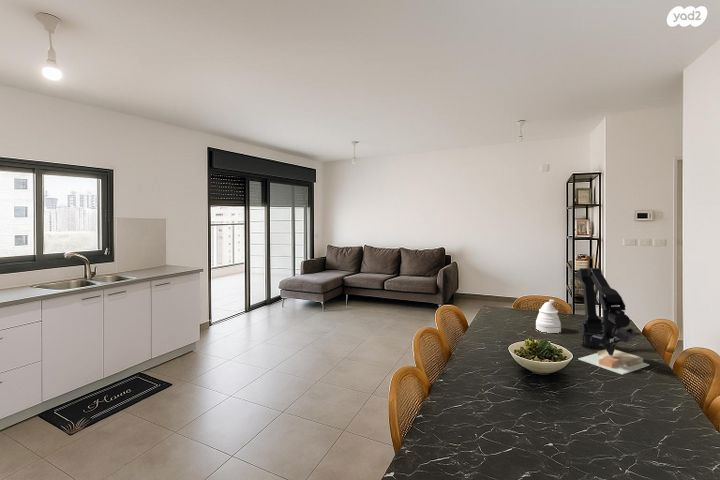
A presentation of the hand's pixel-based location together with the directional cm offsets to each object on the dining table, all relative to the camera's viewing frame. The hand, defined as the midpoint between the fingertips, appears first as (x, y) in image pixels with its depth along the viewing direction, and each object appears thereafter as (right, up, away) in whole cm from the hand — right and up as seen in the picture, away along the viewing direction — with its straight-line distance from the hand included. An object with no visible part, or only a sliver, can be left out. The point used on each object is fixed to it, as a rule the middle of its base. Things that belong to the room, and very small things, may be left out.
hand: (610, 355), depth 161 cm
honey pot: (-3, -1, +48) cm, 48 cm away
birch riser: (+6, -3, +3) cm, 7 cm away
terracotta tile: (-2, -3, -2) cm, 4 cm away
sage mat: (+2, -3, +1) cm, 4 cm away
